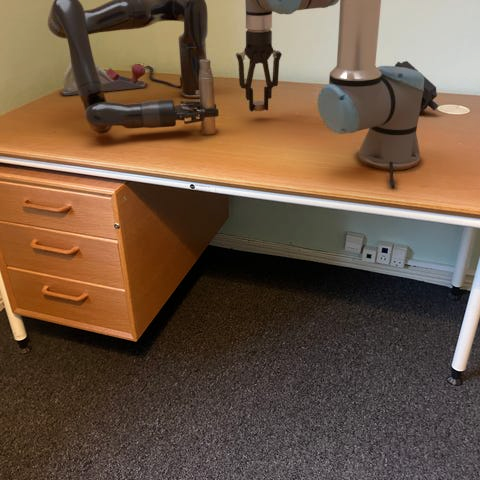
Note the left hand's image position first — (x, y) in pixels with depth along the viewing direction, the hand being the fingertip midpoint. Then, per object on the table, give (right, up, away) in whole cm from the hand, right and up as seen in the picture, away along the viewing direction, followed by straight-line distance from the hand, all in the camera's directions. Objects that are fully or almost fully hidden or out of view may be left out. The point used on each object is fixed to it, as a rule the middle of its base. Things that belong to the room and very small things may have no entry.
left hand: (216, 109), depth 155 cm
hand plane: (-43, +18, +43) cm, 64 cm away
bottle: (-3, -6, +3) cm, 7 cm away
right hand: (+13, +2, +9) cm, 16 cm away
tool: (+60, +4, +17) cm, 62 cm away
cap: (+13, +4, +9) cm, 16 cm away
